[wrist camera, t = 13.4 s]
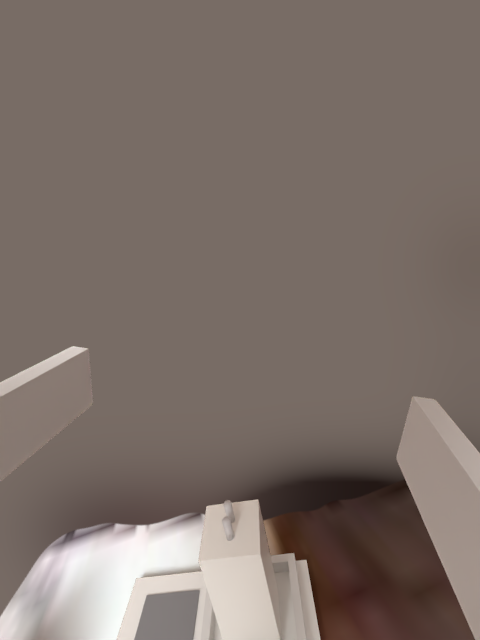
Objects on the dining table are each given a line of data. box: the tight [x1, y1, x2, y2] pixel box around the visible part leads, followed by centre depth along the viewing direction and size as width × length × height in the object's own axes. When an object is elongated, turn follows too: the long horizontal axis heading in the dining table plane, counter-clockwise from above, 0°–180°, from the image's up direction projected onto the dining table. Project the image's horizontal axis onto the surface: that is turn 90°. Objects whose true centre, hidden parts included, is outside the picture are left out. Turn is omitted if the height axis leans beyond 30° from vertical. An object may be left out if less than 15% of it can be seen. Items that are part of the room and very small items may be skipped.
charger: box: [198, 500, 282, 640], centre depth 28 cm, size 5×5×14 cm
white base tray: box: [117, 553, 320, 640], centre depth 30 cm, size 20×10×3 cm, turn 89°
